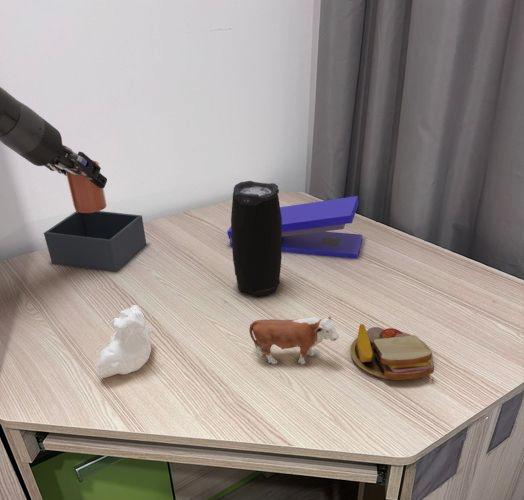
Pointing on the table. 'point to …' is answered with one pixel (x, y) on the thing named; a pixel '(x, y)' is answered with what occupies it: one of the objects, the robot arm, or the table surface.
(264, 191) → the portable speaker
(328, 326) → the bull figurine
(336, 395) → the table surface
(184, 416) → the table surface
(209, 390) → the table surface
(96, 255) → the tub
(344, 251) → the stapler
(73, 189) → the rice cup
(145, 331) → the bust
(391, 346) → the toy sandwich meal
